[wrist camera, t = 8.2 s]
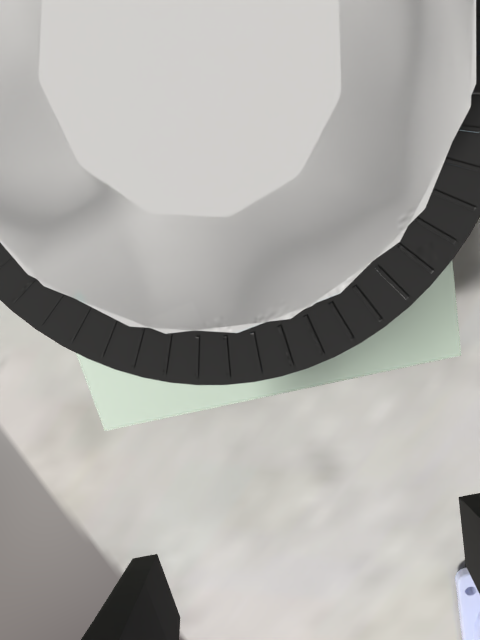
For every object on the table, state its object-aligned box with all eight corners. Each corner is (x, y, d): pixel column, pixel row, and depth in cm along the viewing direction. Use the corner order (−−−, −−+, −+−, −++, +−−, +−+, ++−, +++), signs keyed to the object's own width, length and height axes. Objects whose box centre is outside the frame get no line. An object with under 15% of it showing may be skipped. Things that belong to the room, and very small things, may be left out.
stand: (423, 326, 17) (461, 355, 14) (126, 391, 18) (104, 431, 15) (381, -35, 13) (419, -95, 11) (15, 66, 14) (-42, 36, 11)
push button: (362, 254, 13) (700, 445, 3) (199, 319, 14) (104, 631, 4) (285, 15, 11) (543, -961, 2) (100, 101, 12) (-488, -258, 2)
